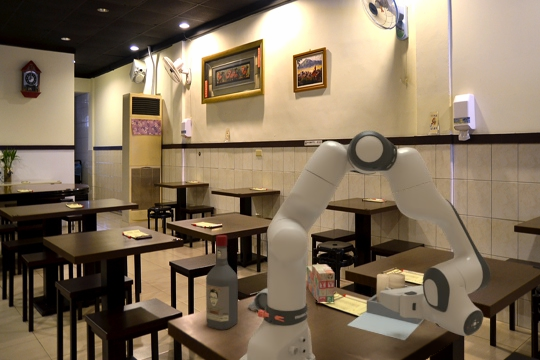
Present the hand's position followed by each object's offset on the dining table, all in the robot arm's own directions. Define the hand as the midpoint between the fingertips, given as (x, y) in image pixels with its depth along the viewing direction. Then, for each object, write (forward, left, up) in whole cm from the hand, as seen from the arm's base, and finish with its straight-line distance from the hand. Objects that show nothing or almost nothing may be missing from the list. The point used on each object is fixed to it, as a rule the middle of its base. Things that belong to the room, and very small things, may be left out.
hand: (394, 288), depth 130 cm
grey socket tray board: (+9, +5, -15) cm, 18 cm away
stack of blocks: (+21, +38, -16) cm, 46 cm away
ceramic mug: (-6, +47, -16) cm, 50 cm away
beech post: (-1, -1, -6) cm, 6 cm away
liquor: (-25, +50, -16) cm, 58 cm away
